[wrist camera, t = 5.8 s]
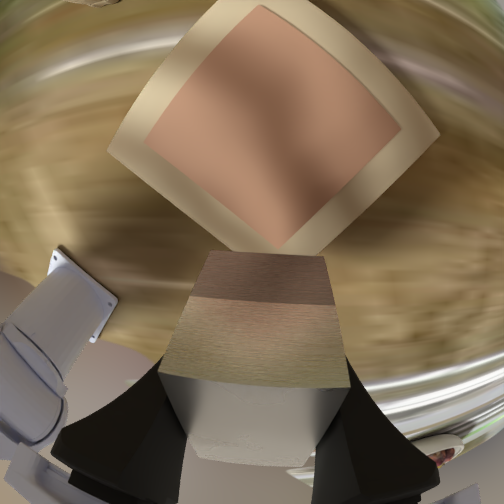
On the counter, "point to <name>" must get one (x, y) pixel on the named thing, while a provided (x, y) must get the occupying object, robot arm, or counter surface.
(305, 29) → the stand
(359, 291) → the counter surface
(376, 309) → the counter surface
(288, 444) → the block
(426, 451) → the bowl
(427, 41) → the counter surface
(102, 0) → the handle
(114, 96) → the counter surface
